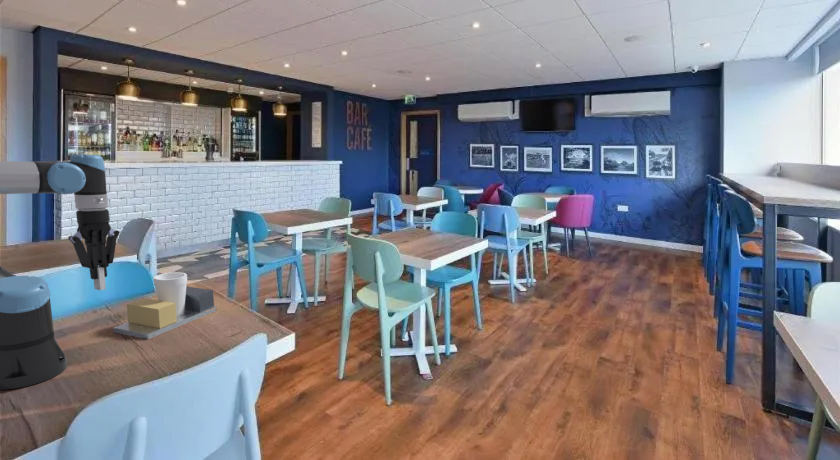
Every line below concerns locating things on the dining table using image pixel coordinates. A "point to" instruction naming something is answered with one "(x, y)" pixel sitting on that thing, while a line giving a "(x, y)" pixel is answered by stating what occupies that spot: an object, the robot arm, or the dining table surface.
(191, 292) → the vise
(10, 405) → the dining table surface
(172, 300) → the foam cup
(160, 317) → the block
